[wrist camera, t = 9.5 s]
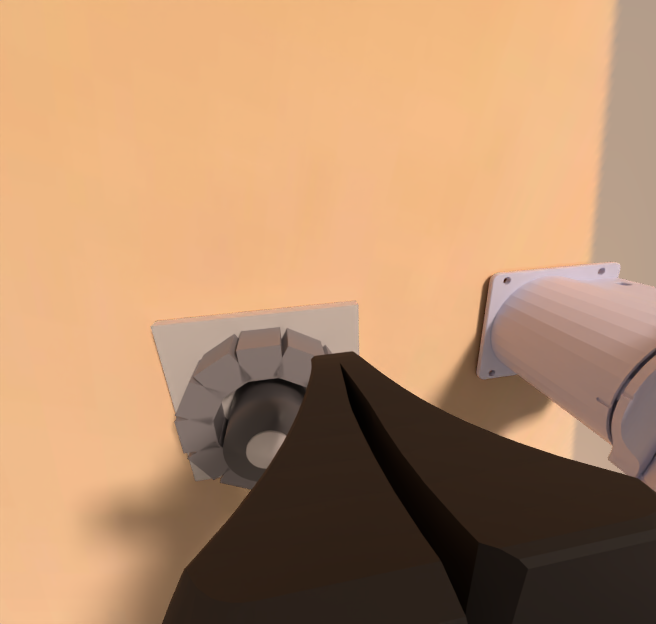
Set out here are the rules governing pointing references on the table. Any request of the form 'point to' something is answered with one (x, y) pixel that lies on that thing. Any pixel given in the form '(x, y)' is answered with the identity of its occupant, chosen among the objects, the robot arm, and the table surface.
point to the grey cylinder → (259, 424)
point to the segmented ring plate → (241, 367)
